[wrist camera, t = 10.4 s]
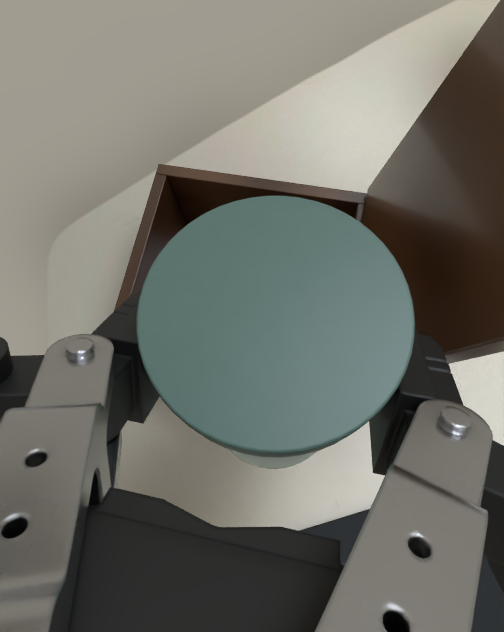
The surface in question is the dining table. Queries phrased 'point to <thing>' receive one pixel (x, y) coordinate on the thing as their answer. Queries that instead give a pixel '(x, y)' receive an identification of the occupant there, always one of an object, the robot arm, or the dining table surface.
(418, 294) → the chest lid
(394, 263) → the canister
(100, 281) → the dining table surface
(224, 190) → the chest
